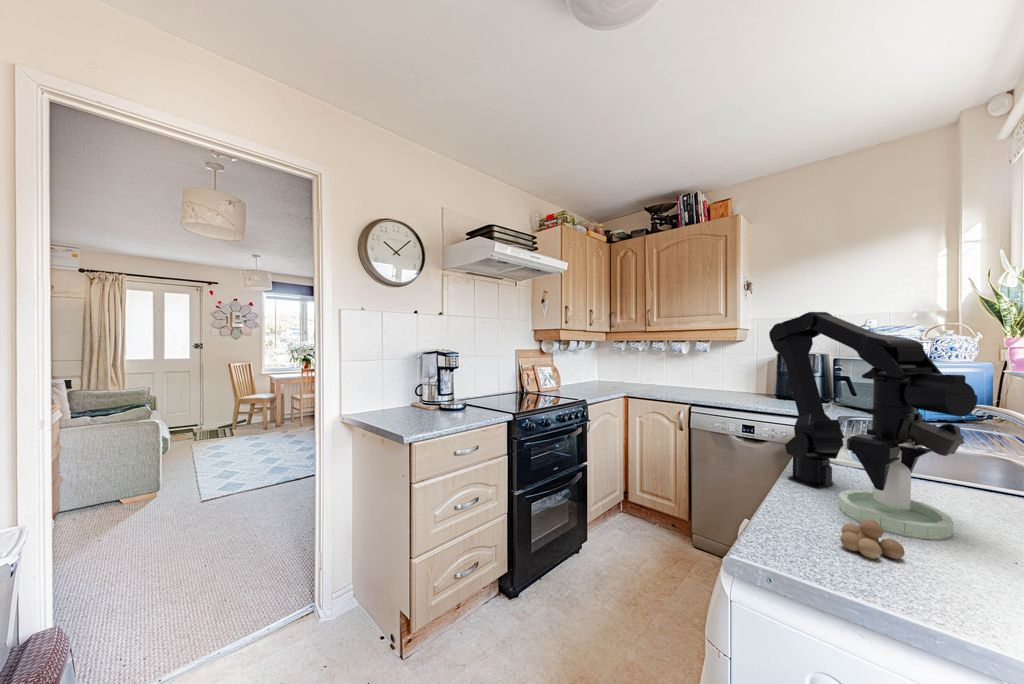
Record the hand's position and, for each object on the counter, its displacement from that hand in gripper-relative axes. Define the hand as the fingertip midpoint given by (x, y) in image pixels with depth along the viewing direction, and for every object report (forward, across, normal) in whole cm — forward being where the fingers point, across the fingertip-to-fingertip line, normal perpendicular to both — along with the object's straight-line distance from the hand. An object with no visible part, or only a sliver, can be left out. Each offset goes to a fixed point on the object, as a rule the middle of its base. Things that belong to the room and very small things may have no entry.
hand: (891, 486), depth 72 cm
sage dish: (+6, 0, 0) cm, 6 cm away
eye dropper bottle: (+4, 0, 0) cm, 4 cm away
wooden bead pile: (+6, -18, -4) cm, 19 cm away
